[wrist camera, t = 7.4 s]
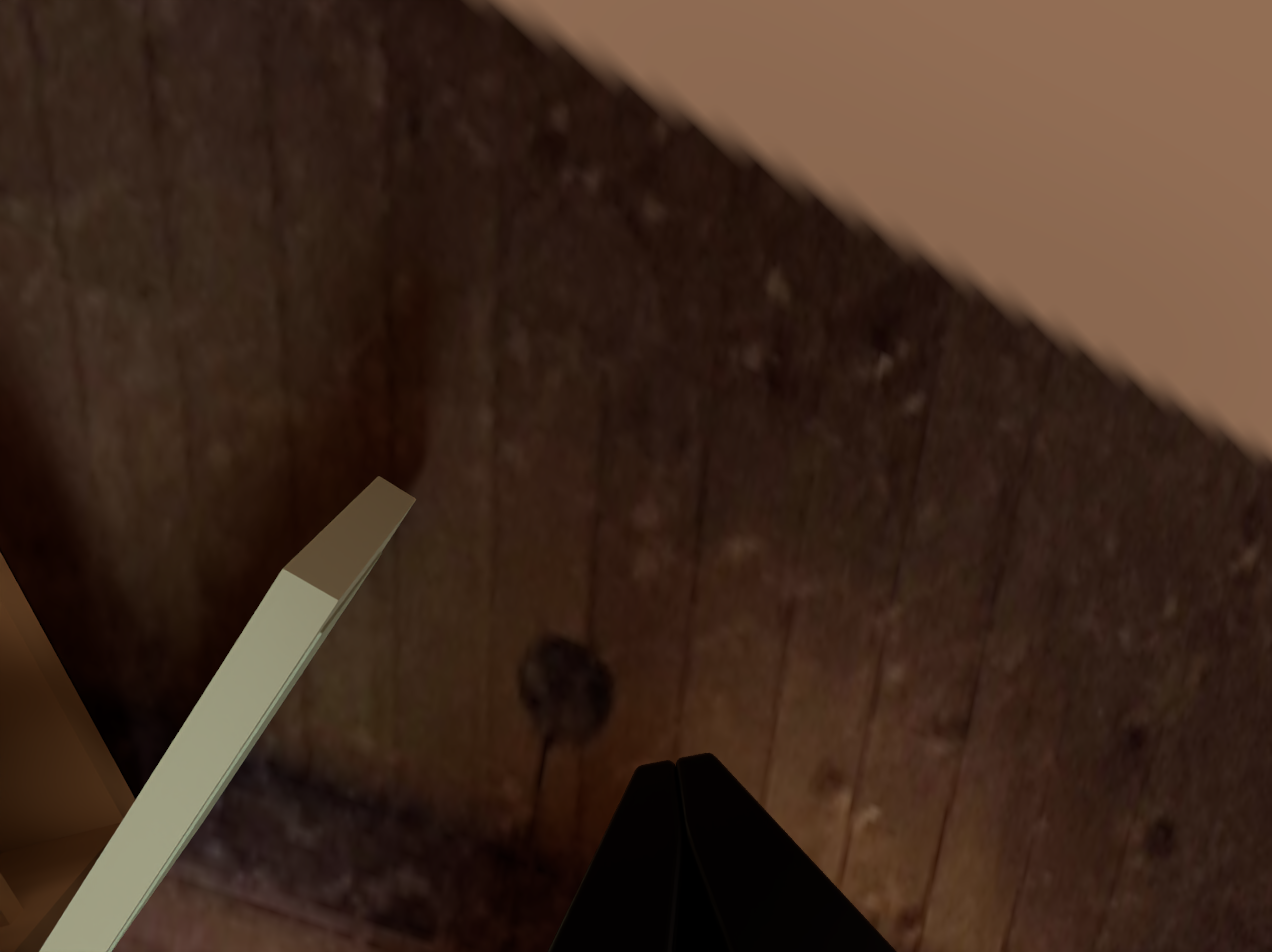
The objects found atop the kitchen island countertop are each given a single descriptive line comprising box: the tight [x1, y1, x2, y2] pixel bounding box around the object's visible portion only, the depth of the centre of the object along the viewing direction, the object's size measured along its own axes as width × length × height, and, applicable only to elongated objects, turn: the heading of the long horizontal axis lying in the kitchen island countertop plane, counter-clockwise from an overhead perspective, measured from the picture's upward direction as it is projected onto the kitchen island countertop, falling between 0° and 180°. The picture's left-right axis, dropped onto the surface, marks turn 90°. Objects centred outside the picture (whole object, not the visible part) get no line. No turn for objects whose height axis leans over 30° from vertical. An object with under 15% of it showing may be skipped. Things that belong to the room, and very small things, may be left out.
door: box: [39, 476, 416, 952], centre depth 16 cm, size 12×1×6 cm, turn 144°
